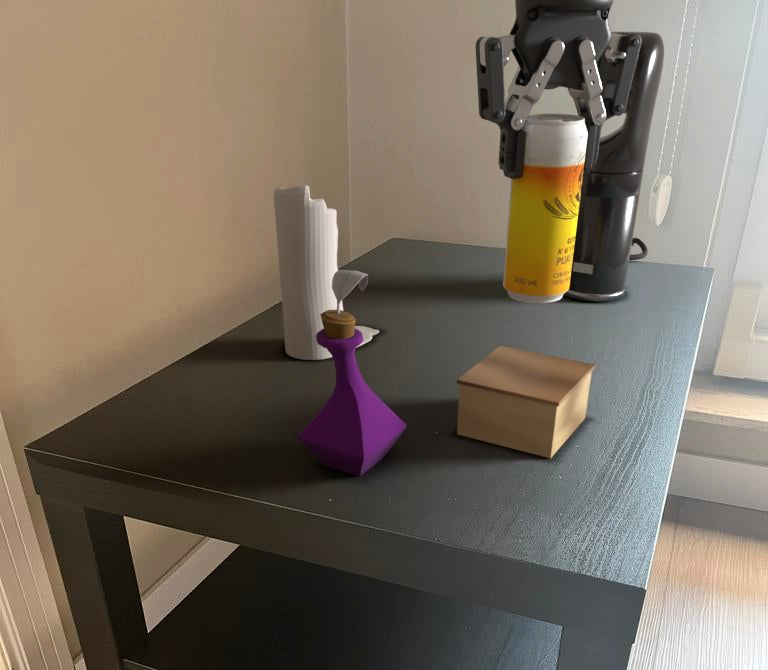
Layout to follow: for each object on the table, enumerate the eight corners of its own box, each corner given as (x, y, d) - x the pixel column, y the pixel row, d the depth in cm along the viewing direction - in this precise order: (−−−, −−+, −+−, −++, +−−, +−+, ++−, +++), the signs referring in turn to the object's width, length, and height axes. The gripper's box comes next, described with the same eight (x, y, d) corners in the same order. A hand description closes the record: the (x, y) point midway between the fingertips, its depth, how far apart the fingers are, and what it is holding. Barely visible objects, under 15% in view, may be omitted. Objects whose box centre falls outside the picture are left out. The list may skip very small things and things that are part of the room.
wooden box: (496, 397, 88) (500, 345, 85) (587, 418, 84) (595, 364, 80) (454, 434, 81) (456, 379, 77) (551, 460, 76) (559, 402, 73)
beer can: (567, 307, 72) (590, 123, 64) (499, 303, 73) (513, 121, 65) (568, 286, 77) (589, 113, 69) (505, 283, 78) (518, 112, 70)
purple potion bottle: (364, 489, 72) (360, 291, 62) (298, 468, 75) (284, 277, 65) (407, 455, 77) (409, 268, 67) (343, 436, 80) (336, 255, 71)
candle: (390, 334, 104) (390, 170, 94) (312, 365, 96) (302, 189, 85) (351, 321, 109) (347, 163, 98) (273, 350, 100) (259, 180, 89)
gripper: (624, -61, 65) (595, 162, 74) (462, -63, 61) (453, 172, 70) (682, -66, 59) (643, 176, 68) (506, -69, 55) (490, 189, 64)
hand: (546, 173), depth 69 cm, fingers closed on beer can, 6 cm apart
